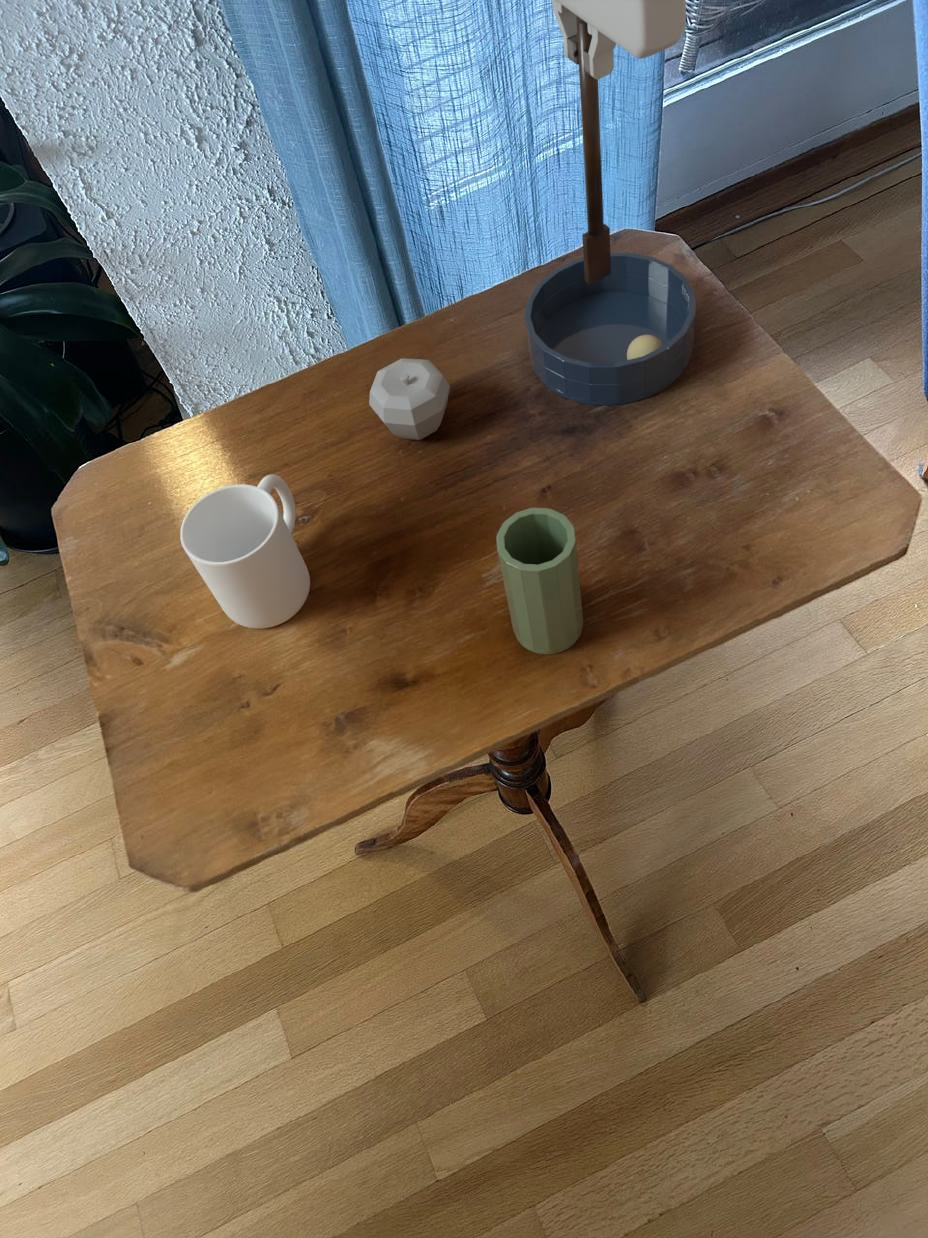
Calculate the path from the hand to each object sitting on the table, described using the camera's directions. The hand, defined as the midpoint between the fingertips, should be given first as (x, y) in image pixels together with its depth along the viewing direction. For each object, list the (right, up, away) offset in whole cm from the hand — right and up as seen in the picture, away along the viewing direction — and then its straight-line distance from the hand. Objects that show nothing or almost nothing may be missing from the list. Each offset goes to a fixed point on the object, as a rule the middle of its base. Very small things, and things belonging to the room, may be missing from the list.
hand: (589, 65), depth 75 cm
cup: (-27, -38, +15) cm, 49 cm away
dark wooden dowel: (+3, -11, +16) cm, 20 cm away
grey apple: (-14, -23, +22) cm, 35 cm away
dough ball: (+8, -17, +19) cm, 27 cm away
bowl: (+5, -15, +24) cm, 29 cm away
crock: (-2, -43, +7) cm, 43 cm away
